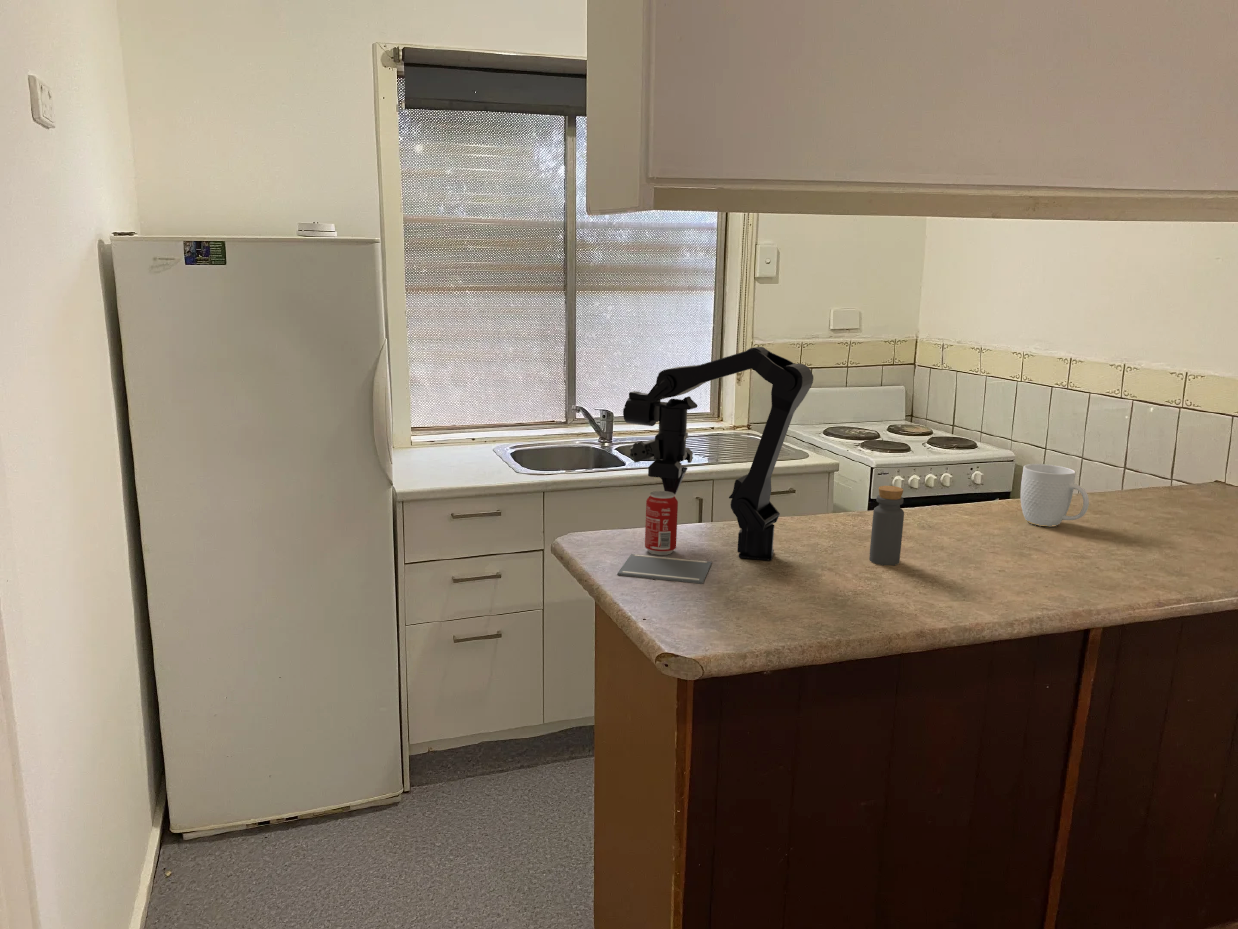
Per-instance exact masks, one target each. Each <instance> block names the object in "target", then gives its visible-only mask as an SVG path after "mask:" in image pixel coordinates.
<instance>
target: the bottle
mask: <svg viewBox="0 0 1238 929" xmlns="http://www.w3.org/2000/svg"><path fill="white" fill-rule="evenodd" d="M903 493H904V489H903V488H902V487H900V486H896V485H895V486H894V485H881V486H879V487H878V495H877V496H876V498H875V499H876V503H878V505H877V506H876V507H875V506H874V508H873V512H872V513H873V514H872V524H871V534H870V546H869V556H868V557H869V562H871V563H873V564H876V565H879V566H884V565H893V566H896V565H895V564H897V565H899V564H900V559H901V550H902V541H903V540H902V539H903V530H904V519H905V511H904V510H903V509H902V508H901V505H903V504H904V501H905V500H904V499H905V498H903V497H902V496H903Z"/></svg>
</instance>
